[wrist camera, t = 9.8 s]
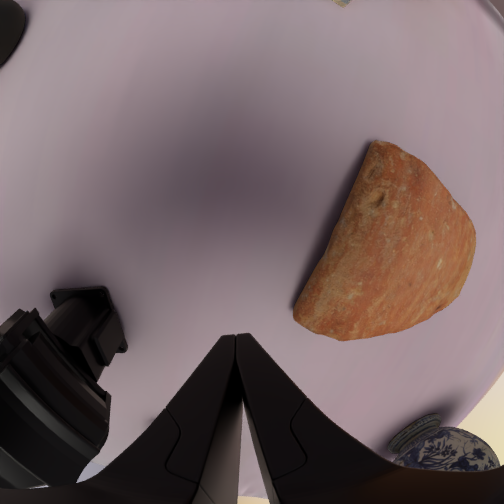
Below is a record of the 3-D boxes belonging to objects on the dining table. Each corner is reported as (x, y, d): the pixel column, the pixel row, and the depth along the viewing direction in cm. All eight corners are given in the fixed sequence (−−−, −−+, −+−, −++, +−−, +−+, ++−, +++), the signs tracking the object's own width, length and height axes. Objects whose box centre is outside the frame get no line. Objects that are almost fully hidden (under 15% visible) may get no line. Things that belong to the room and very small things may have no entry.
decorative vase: (341, 455, 31) (388, 594, 4) (440, 380, 28) (532, 513, 1) (391, 466, 37) (432, 559, 10) (463, 410, 33) (522, 498, 7)
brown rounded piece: (425, 376, 19) (285, 329, 19) (406, 335, 25) (287, 285, 25) (519, 242, 14) (394, 132, 13) (480, 219, 19) (364, 134, 19)
